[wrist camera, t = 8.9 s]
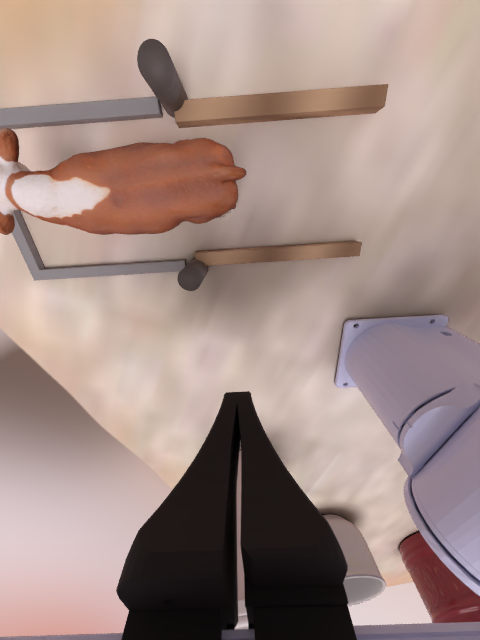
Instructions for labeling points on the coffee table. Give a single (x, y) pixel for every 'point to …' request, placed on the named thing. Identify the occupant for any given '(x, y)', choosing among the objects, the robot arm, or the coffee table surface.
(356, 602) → the teacup
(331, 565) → the robot arm
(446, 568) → the canister
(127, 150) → the bull figurine
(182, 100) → the pair of brown bars
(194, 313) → the coffee table surface
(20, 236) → the frame
